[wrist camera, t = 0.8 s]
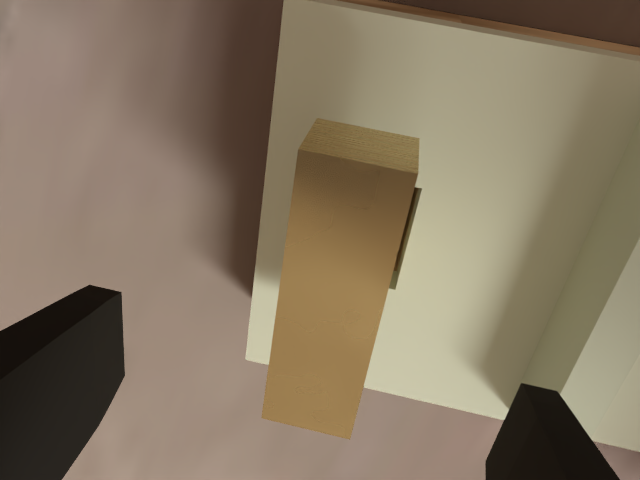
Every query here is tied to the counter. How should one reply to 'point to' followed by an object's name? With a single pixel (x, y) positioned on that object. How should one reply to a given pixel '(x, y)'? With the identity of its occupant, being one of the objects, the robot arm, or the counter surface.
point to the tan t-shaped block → (336, 271)
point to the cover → (479, 207)
